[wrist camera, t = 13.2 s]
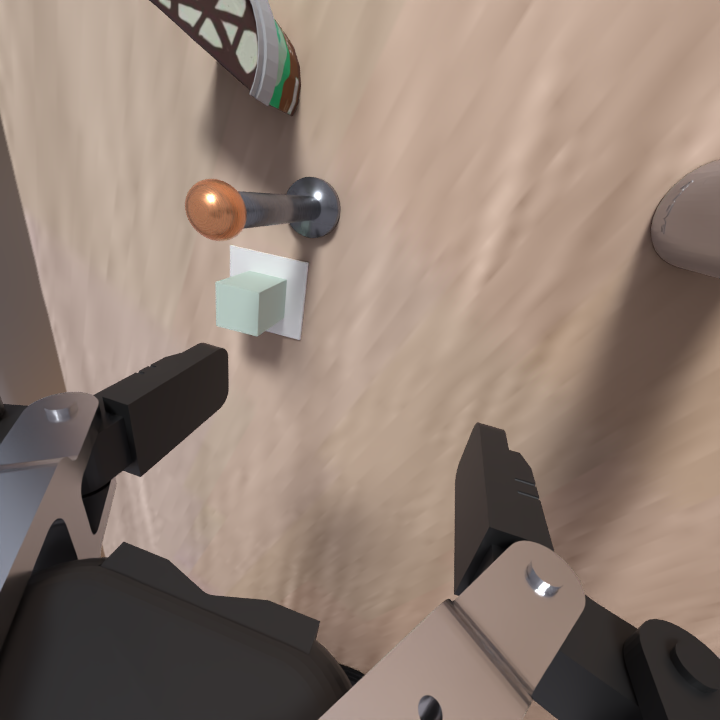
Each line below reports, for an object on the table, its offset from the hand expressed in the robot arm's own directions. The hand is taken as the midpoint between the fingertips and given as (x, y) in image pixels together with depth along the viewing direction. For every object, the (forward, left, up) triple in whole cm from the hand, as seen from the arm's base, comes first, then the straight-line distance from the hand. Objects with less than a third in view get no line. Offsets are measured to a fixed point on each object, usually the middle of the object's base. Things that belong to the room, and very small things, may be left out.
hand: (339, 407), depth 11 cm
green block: (+17, +8, -30) cm, 36 cm away
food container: (+18, -16, -31) cm, 39 cm away
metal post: (+12, -3, -31) cm, 33 cm away
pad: (+17, +8, -31) cm, 36 cm away
